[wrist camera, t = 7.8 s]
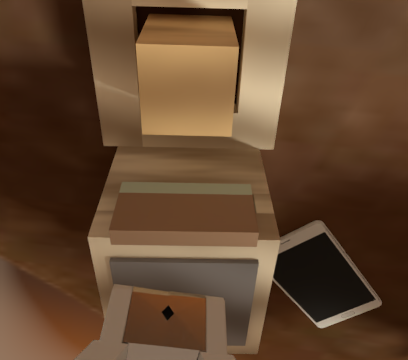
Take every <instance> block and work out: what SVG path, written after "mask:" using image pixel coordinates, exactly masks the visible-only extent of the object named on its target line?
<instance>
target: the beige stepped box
mask: <svg viewBox="0 0 408 360" xmlns="http://www.w3.org/2000/svg"><path fill="white" fill-rule="evenodd" d="M82 3H83V10H84V16H85V23H86V30H87V37H88V43H89V50H90V57H91V64H92V71H93V77H94V84H95V91H96V98H97V104H98V111H99V118H100V125H101V131H102V138H103V145H104V146H118V147H117V150H116V153H115V156H114V159H113V162H112V165H111V168H110V171H109V174H108V177H107V180H106V183H105V186H104V189H103V192H102V195H101V198H100V201H99V204H98V207H97V210H96V213H95V216H94V219H93V222H92V225H91V228H90V231H89V234H88V242H89V247H90V252H91V256H92V261H93V266H94V271H95V275H96V280H97V285H98V289H99V294H100V299H101V304H102V308H103V313H104V318H105V316H106V312H107V308H108V304H109V300H110V296H111V292H112V288H113V286H114V284H119V285H126V286H133V287H140V288H147V289H153V290H160V291H167V292H169V291H173V292H182V293H191V294H201V295H205V296H213V297H222V298H224V301H225V313H226V333H227V353H228V354H257V353H258V348H259V343H260V338H261V333H262V329H263V324H264V319H265V314H266V309H267V304H268V299H269V294H270V289H271V284H272V280H273V275H274V270H275V265H276V260H277V255H278V250H279V245H280V236H279V232H278V227H277V223H276V219H275V214H274V210H273V206H272V201H271V197H270V193H269V188H268V184H267V180H266V175H265V171H264V167H263V162H262V158H261V154H260V149H274V143H275V137H276V130H277V124H278V118H279V111H280V105H281V99H282V92H283V86H284V80H285V73H286V67H287V61H288V54H289V48H290V42H291V35H292V29H293V23H294V16H295V10H296V4H297V0H82ZM136 6H152V7H187V8H222V9H244V18H243V30H242V42H241V53H240V65H239V77H238V89H237V101H236V104H234V112H233V124H232V136H231V137H224V136H183V135H143V134H142V124H141V111H140V97H139V83H138V70H137V56H136V42H137V40H138V27H137V13H136ZM122 182H163V183H216V184H251V189H252V195H253V201H254V207H255V213H256V218H257V224H258V230H259V236H258V242H257V247H227V246H161V245H111V242H110V236H109V227H110V224H111V220H112V216H113V213H114V209H115V206H116V202H117V198H118V195H119V191H120V188H121V184H122Z"/></svg>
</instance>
